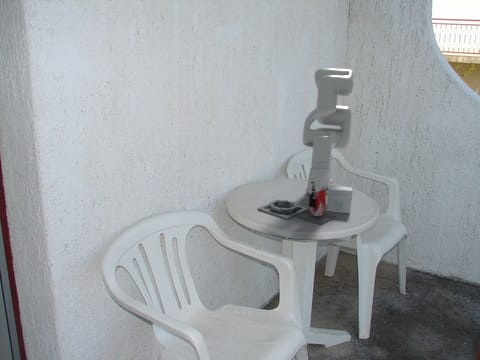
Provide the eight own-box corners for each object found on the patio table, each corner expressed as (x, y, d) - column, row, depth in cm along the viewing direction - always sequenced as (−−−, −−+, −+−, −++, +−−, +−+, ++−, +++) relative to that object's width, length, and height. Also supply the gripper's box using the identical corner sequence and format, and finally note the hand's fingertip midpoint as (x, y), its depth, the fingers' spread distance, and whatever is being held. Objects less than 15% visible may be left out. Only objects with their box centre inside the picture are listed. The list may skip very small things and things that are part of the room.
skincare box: (349, 208, 207) (352, 186, 204) (350, 214, 201) (352, 191, 198) (326, 206, 209) (328, 184, 206) (325, 211, 203) (328, 188, 200)
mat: (311, 210, 203) (311, 209, 203) (335, 217, 196) (335, 216, 195) (296, 217, 194) (296, 215, 194) (320, 225, 187) (320, 223, 187)
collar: (279, 201, 213) (279, 196, 212) (308, 210, 203) (309, 204, 202) (257, 209, 202) (257, 204, 201) (287, 219, 192) (287, 214, 191)
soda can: (324, 217, 191) (327, 190, 187) (307, 216, 192) (309, 188, 189) (324, 211, 197) (327, 185, 194) (308, 210, 199) (310, 183, 195)
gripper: (324, 158, 197) (320, 197, 202) (301, 166, 184) (297, 207, 190) (339, 162, 192) (335, 202, 197) (317, 170, 180) (313, 212, 185)
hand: (317, 204), depth 194 cm, fingers closed on soda can, 6 cm apart
